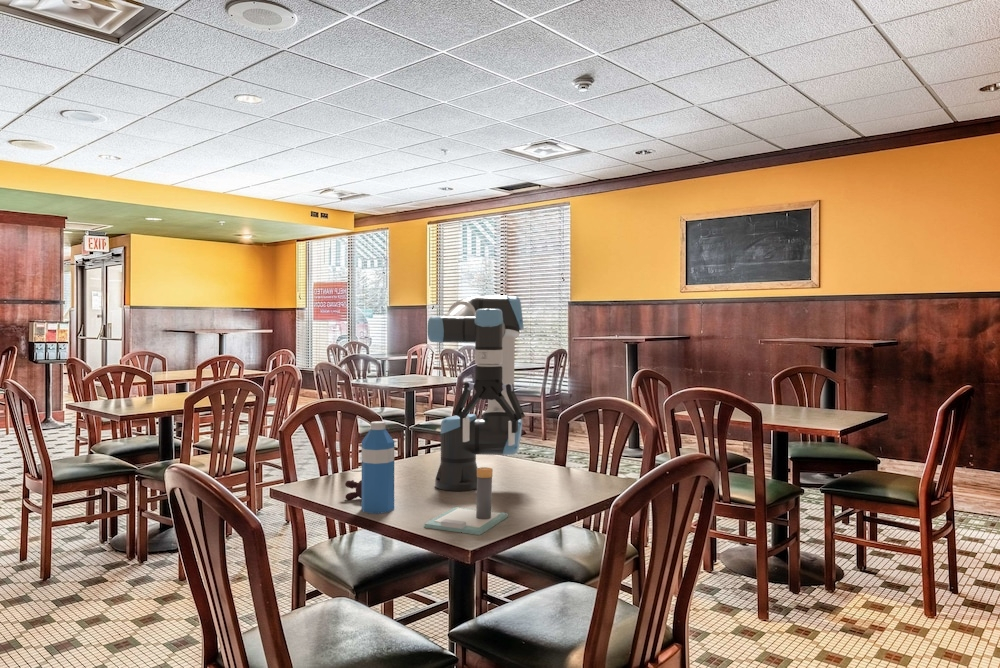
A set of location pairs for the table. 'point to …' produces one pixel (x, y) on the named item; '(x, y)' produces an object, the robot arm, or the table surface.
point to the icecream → (358, 489)
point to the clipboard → (465, 521)
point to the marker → (484, 493)
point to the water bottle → (377, 470)
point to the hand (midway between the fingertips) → (488, 443)
